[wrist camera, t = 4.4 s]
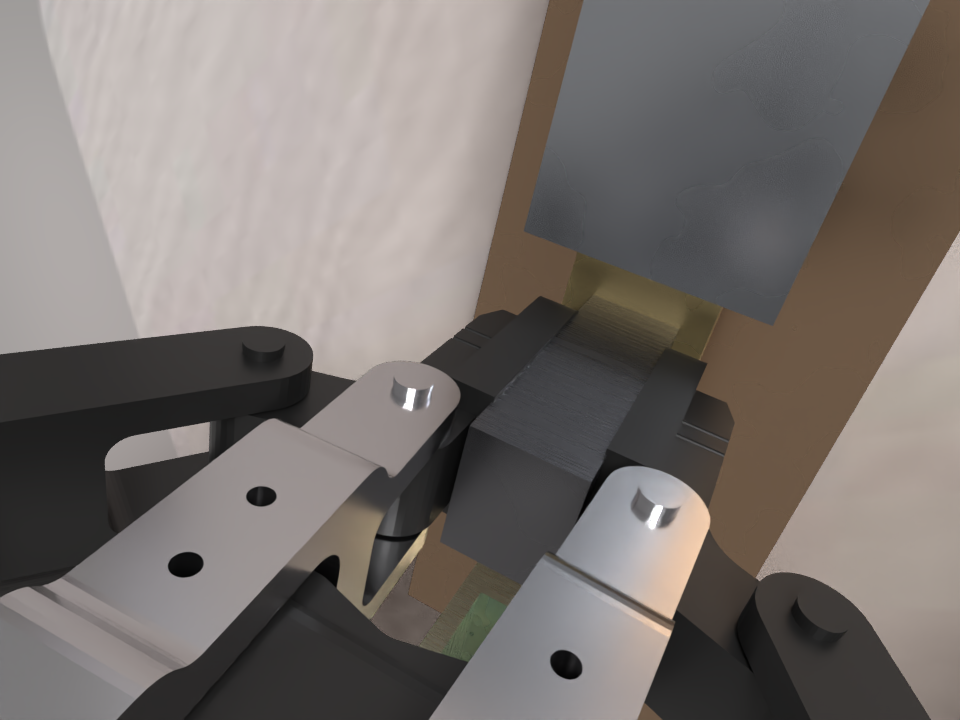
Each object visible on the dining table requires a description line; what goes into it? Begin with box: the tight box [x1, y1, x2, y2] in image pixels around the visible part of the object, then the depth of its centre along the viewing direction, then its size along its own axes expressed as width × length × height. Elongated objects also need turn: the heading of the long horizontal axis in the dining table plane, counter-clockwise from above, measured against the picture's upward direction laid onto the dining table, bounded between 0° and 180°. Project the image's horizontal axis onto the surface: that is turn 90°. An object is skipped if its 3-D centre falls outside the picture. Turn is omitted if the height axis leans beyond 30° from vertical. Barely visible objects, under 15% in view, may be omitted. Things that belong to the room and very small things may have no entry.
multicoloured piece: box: [408, 0, 960, 720], centre depth 16 cm, size 30×10×8 cm, turn 167°
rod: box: [440, 252, 723, 585], centre depth 10 cm, size 19×3×8 cm, turn 167°
